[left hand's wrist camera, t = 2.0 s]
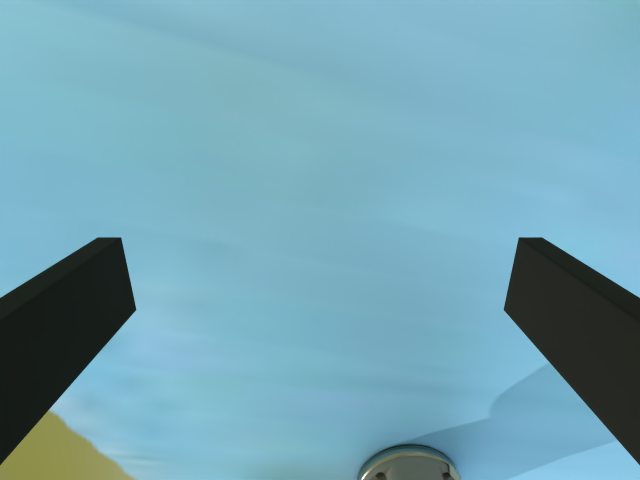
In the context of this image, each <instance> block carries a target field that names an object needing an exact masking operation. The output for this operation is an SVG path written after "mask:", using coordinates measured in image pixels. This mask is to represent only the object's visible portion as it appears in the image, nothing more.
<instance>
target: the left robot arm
mask: <svg viewBox="0 0 640 480" xmlns="http://www.w3.org/2000/svg"><path fill="white" fill-rule="evenodd" d="M135 311H136V306H135V301H134V297H133V292H132V287H131V282H130V278H129V273H128V268H127V263H126V258H125V254H124V249H123V244H122V239H121V238H96V239H95V240H93V241H91V242H90V243H88V244H87V245H85V246H83V247H82V248H80V249H79V250H77V251H75V252H74V253H72V254H71V255H69V256H67V257H66V258H64V259H62V260H61V261H59V262H58V263H56V264H54V265H53V266H51V267H50V268H48V269H46V270H45V271H43V272H41V273H40V274H38V275H37V276H35V277H33V278H32V279H30V280H29V281H27V282H25V283H24V284H22V285H20V286H19V287H17V288H16V289H14V290H12V291H11V292H9V293H8V294H6V295H4V296H3V297H1V298H0V465H1V464H2V463H3V461H4V460H5V459H6V458H7V457H8V456H9V455H10V453H11V452H12V451H13V450H14V449H15V448H16V446H17V445H18V444H19V443H20V442H21V441H22V440H23V438H24V437H25V436H26V435H27V434H28V433H29V432H30V430H31V429H32V428H33V427H34V426H35V425H36V424H37V423H38V421H39V420H40V419H41V418H42V417H43V416H44V415H45V413H46V412H47V411H48V410H49V409H50V408H51V407H52V405H53V404H54V403H55V402H56V401H57V400H58V399H59V397H60V396H61V395H62V394H63V393H64V392H65V391H66V389H67V388H68V387H69V386H70V385H71V384H72V383H73V381H74V380H75V379H76V378H77V377H78V376H79V375H80V373H81V372H82V371H83V370H84V369H85V368H86V367H87V365H88V364H89V363H90V362H91V361H92V360H93V359H94V357H95V356H96V355H97V354H98V353H99V352H100V351H101V349H102V348H103V347H104V346H105V345H106V344H107V343H108V341H109V340H110V339H111V338H112V337H113V336H114V335H115V333H116V332H117V331H118V330H119V329H120V328H121V327H122V325H123V324H124V323H125V322H126V321H127V320H128V319H129V317H130V316H131V315H132V314H133V313H134V312H135ZM504 311H505V312H506V313H507V314H508V315H509V316H510V317H511V319H512V320H513V321H514V322H515V323H516V324H517V325H518V327H519V328H520V329H521V330H522V331H523V332H524V333H525V335H526V336H527V337H528V338H529V339H530V340H531V341H532V343H533V344H534V345H535V346H536V347H537V348H538V349H539V351H540V352H541V353H542V354H543V355H544V356H545V357H546V359H547V360H548V361H549V362H550V363H551V364H552V365H553V367H554V368H555V369H556V370H557V371H558V372H559V373H560V375H561V376H562V377H563V378H564V379H565V380H566V381H567V383H568V384H569V385H570V386H571V387H572V388H573V389H574V391H575V392H576V393H577V394H578V395H579V396H580V397H581V399H582V400H583V401H584V402H585V403H586V404H587V405H588V407H589V408H590V409H591V410H592V411H593V412H594V413H595V415H596V416H597V417H598V418H599V419H600V420H601V421H602V423H603V424H604V425H605V426H606V427H607V428H608V429H609V431H610V432H611V433H612V434H613V435H614V436H615V437H616V439H617V440H618V441H619V442H620V443H621V444H622V445H623V447H624V448H625V449H626V450H627V451H628V452H629V453H630V455H631V456H632V457H633V458H634V459H635V460H636V461H637V463H638V464H639V465H640V298H639V297H637V296H636V295H634V294H632V293H631V292H629V291H628V290H626V289H624V288H623V287H621V286H620V285H618V284H616V283H615V282H613V281H611V280H610V279H608V278H607V277H605V276H603V275H602V274H600V273H599V272H597V271H595V270H594V269H592V268H590V267H589V266H587V265H586V264H584V263H582V262H581V261H579V260H578V259H576V258H574V257H573V256H571V255H569V254H568V253H566V252H565V251H563V250H561V249H560V248H558V247H557V246H555V245H553V244H552V243H550V242H548V241H547V240H545V239H544V238H519V239H518V244H517V249H516V254H515V258H514V263H513V268H512V273H511V278H510V282H509V287H508V292H507V297H506V301H505V306H504ZM357 480H461V476H460V475H459V474H458V473H457V471H456V469H455V467H454V465H453V463H452V462H451V461H450V459H449V458H448V457H446V456H445V455H444V454H442V453H441V452H439V451H437V450H434V449H432V448H428V447H424V446H416V445H406V446H399V447H394V448H390V449H387V450H385V451H382V452H380V453H378V454H376V455H375V456H373V457H372V458H371V459H369V460H368V461H367V462H366V463H365V464H364V466H363V467H362V469H361V470H360V472H359V475H358V479H357Z"/></svg>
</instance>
